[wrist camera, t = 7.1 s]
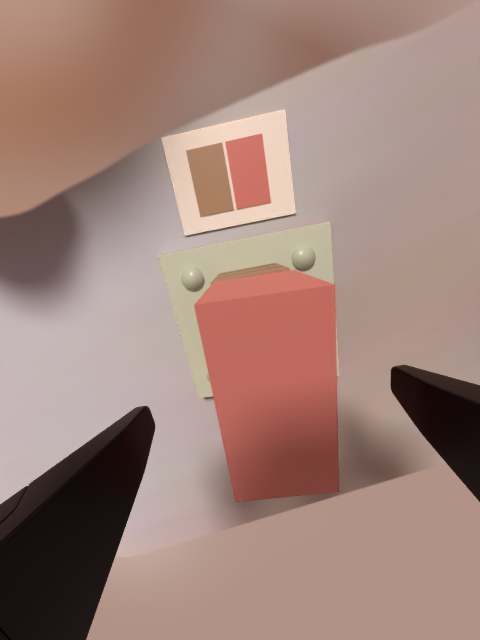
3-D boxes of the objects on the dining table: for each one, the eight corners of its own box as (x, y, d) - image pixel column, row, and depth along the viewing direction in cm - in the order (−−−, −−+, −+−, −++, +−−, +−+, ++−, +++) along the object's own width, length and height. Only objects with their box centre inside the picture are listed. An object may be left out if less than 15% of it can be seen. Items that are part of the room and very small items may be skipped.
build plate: (324, 223, 16) (331, 220, 15) (334, 370, 19) (340, 377, 18) (162, 255, 17) (156, 255, 15) (200, 391, 20) (198, 399, 19)
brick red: (214, 281, 11) (193, 304, 6) (294, 269, 11) (335, 284, 6) (237, 412, 13) (235, 501, 9) (303, 405, 13) (338, 491, 8)
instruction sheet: (284, 110, 14) (285, 108, 14) (295, 213, 16) (295, 213, 15) (161, 138, 14) (160, 137, 14) (185, 235, 16) (184, 235, 16)
